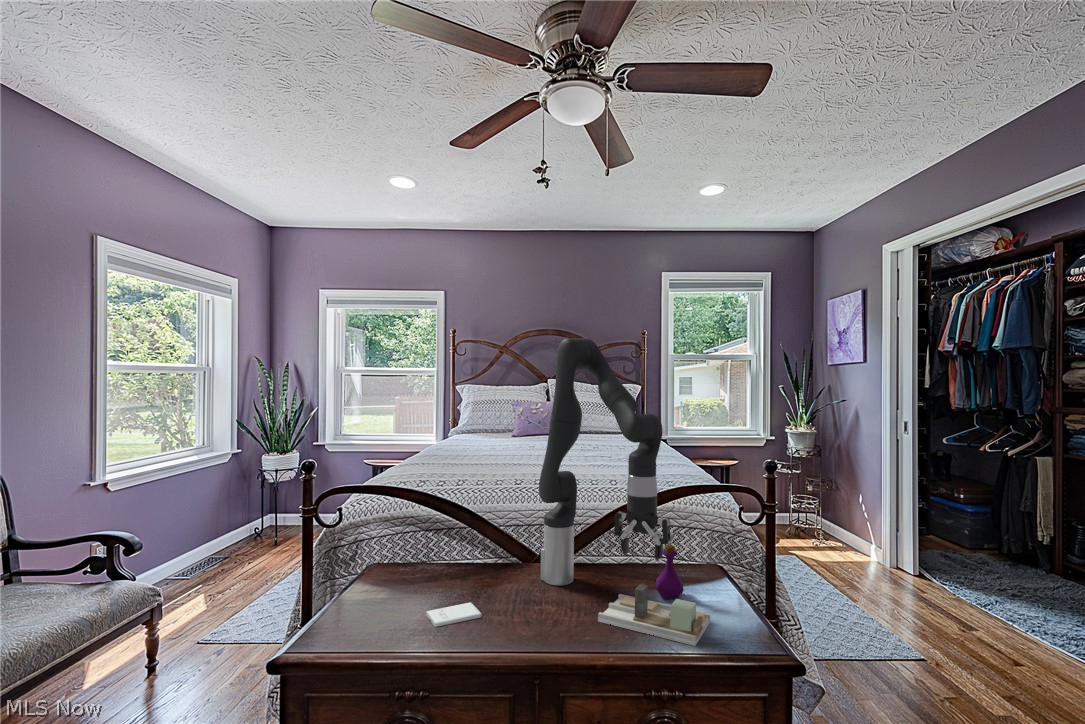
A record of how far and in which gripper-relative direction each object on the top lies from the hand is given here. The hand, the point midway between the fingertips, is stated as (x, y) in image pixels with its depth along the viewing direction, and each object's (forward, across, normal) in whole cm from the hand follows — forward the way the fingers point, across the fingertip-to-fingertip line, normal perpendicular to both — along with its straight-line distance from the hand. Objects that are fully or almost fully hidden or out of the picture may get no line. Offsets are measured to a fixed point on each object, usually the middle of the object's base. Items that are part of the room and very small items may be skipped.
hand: (641, 556), depth 144 cm
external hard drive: (+18, -44, -20) cm, 52 cm away
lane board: (+17, +2, +4) cm, 18 cm away
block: (+15, +11, 0) cm, 18 cm away
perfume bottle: (+18, +1, +22) cm, 28 cm away
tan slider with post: (+16, +7, 0) cm, 18 cm away
